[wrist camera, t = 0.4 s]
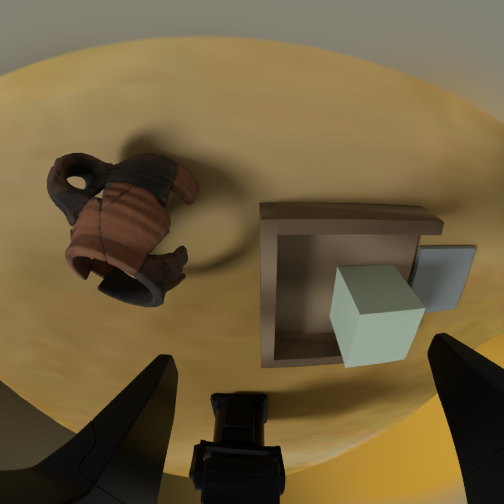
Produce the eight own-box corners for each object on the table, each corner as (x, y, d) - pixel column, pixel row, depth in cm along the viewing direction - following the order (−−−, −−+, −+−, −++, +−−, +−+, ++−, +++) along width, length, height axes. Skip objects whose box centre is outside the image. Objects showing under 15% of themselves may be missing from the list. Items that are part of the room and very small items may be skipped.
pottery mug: (237, 201, 20) (206, 306, 16) (168, 239, 26) (136, 318, 22) (108, 92, 14) (21, 180, 9) (68, 164, 20) (14, 241, 15)
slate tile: (452, 305, 24) (455, 308, 24) (400, 312, 24) (402, 315, 24) (472, 245, 21) (475, 248, 21) (418, 245, 21) (421, 249, 21)
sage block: (380, 312, 24) (404, 359, 18) (329, 316, 24) (345, 367, 19) (393, 264, 22) (425, 308, 16) (337, 266, 22) (360, 314, 16)
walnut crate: (389, 331, 26) (401, 355, 22) (260, 340, 26) (261, 367, 23) (421, 206, 20) (443, 221, 17) (259, 202, 20) (260, 219, 17)
